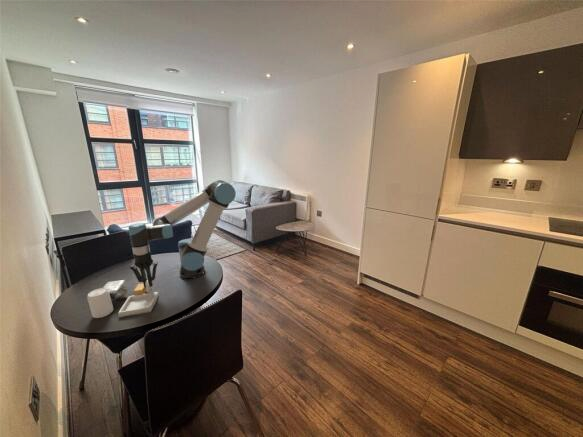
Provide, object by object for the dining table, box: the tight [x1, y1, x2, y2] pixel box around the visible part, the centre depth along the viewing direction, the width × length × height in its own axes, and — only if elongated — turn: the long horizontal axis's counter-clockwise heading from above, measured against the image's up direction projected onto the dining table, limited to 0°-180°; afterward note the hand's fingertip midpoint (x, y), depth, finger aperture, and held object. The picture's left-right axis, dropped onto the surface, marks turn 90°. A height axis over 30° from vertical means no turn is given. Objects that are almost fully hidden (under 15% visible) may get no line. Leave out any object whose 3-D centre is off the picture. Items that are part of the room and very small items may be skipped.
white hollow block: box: [102, 279, 129, 302], centre depth 123 cm, size 10×10×8 cm
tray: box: [117, 291, 159, 318], centre depth 118 cm, size 14×14×3 cm
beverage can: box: [86, 287, 114, 319], centre depth 112 cm, size 8×8×12 cm
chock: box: [133, 282, 147, 295], centre depth 127 cm, size 4×7×5 cm, turn 15°
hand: (149, 291), depth 128 cm, fingers closed
